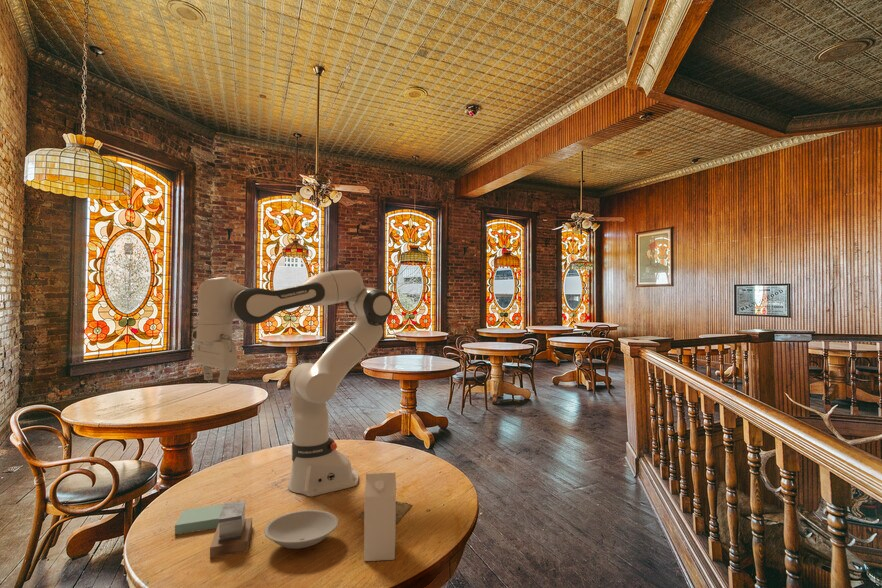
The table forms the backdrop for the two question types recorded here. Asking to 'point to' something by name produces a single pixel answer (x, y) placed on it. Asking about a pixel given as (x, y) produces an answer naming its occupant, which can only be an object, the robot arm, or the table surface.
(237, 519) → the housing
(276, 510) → the table surface
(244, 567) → the table surface
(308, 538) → the dish
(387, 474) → the milk carton
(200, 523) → the stand
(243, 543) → the stand
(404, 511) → the speckled grey square slab
